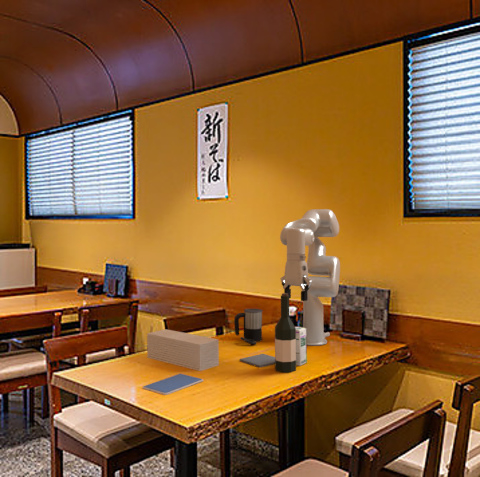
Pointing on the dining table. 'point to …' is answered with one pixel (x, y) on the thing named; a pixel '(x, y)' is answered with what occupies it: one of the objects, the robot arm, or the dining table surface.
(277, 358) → the wine bottle
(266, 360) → the mat
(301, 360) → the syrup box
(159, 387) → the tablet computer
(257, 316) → the milk frother
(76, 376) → the dining table surface
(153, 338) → the stack of papers
